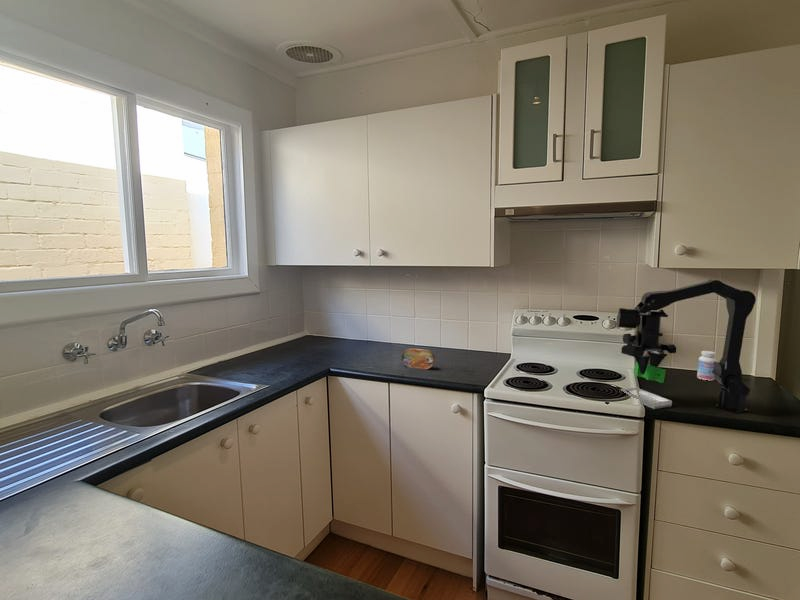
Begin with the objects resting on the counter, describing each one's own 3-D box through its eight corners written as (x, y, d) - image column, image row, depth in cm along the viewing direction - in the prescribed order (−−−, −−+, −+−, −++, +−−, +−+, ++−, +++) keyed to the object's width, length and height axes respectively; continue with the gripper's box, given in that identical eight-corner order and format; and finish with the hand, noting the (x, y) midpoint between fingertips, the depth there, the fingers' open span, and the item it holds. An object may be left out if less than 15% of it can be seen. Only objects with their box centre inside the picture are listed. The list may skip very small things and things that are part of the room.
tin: (401, 366, 195) (401, 347, 194) (404, 364, 198) (404, 346, 197) (433, 370, 188) (433, 351, 187) (435, 369, 191) (436, 350, 190)
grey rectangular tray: (671, 406, 148) (671, 400, 148) (654, 409, 145) (654, 403, 145) (635, 392, 162) (636, 387, 161) (619, 394, 159) (620, 389, 159)
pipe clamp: (628, 373, 157) (630, 361, 157) (636, 374, 158) (638, 361, 158) (655, 382, 147) (657, 369, 146) (663, 382, 148) (666, 369, 147)
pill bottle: (699, 380, 177) (701, 353, 176) (695, 376, 183) (697, 349, 181) (716, 382, 175) (719, 354, 173) (712, 377, 181) (715, 351, 179)
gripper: (651, 323, 161) (648, 365, 163) (610, 326, 155) (607, 369, 157) (679, 329, 150) (675, 373, 152) (636, 332, 145) (633, 378, 146)
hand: (647, 373), depth 152 cm, fingers closed on pipe clamp, 4 cm apart
